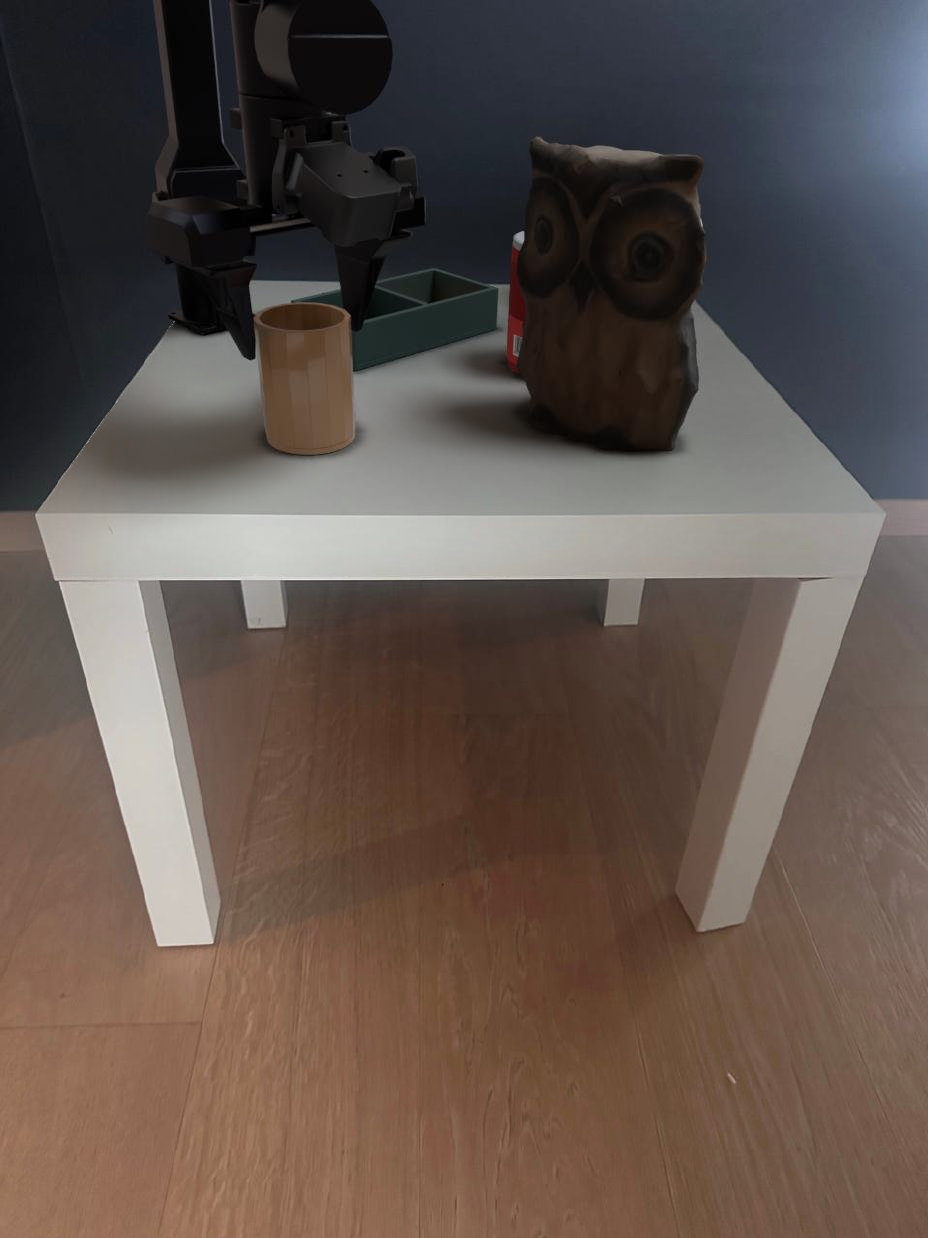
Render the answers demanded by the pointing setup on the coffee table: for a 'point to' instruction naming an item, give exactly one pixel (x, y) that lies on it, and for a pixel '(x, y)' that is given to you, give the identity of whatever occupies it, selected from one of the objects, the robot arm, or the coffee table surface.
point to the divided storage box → (417, 314)
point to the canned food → (515, 307)
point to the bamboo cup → (306, 377)
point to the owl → (610, 293)
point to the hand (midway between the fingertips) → (304, 343)
